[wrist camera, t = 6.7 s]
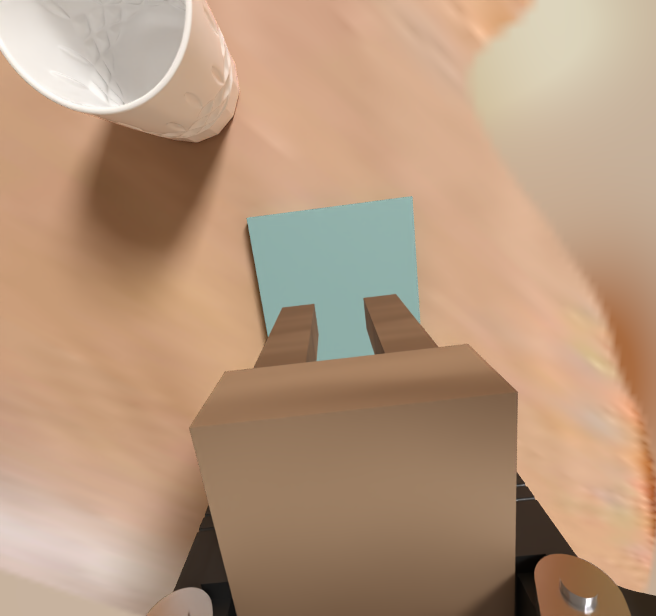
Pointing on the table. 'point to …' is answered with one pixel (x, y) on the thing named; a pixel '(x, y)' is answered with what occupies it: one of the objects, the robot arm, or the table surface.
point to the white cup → (126, 61)
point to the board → (336, 267)
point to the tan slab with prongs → (363, 474)
